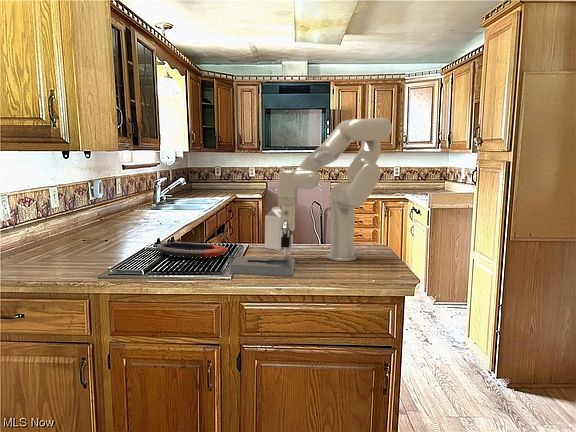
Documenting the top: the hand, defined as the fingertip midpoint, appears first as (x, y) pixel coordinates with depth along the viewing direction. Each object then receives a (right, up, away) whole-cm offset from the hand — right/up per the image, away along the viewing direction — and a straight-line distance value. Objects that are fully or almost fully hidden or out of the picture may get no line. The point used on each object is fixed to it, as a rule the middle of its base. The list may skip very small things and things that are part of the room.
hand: (286, 244), depth 171 cm
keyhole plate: (-8, -9, -12) cm, 17 cm away
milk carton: (-5, -3, +26) cm, 27 cm away
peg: (0, -7, +1) cm, 7 cm away
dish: (-39, -6, +8) cm, 41 cm away
